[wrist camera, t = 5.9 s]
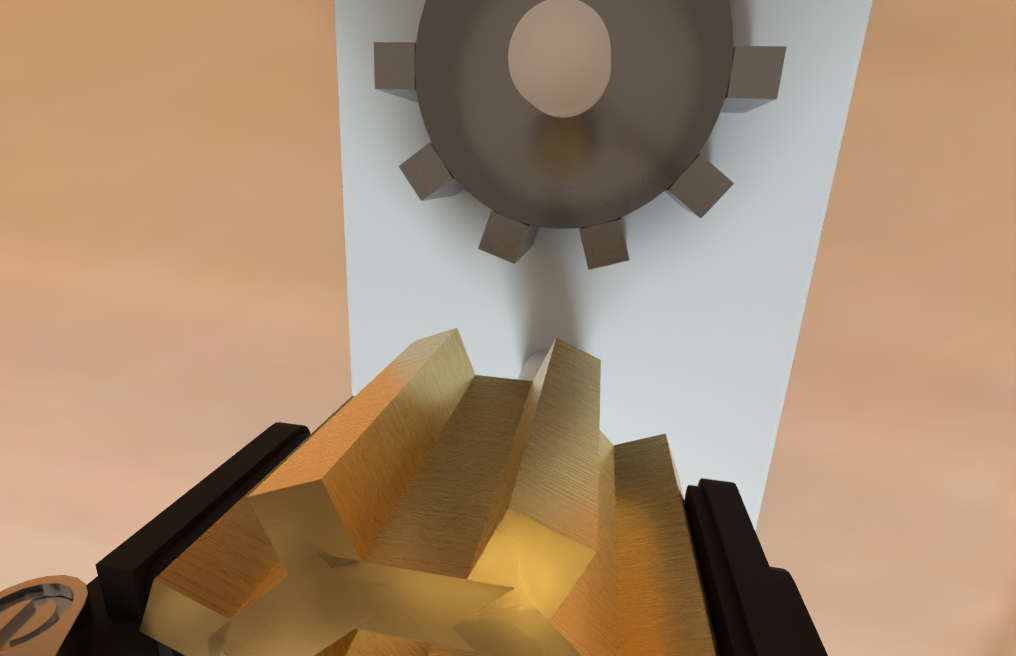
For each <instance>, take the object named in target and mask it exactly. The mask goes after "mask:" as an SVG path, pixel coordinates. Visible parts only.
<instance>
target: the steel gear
mask: <svg viewBox="0 0 1016 656" xmlns="http://www.w3.org/2000/svg"><path fill="white" fill-rule="evenodd" d="M543 1H546V0H426V1H425V5H424V8H423V12H422V15H421V19H420V22H419V28H418V34H417V40H416V43H415V42H374V76H375V89H377V90H380V91H383V92H386V93H389V94H392V95H395V96H398V97H401V98H404V99H407V100H410V101H413V102H416V103H419V108H420V111H421V115H422V118H423V121H424V125H425V128H426V130H427V133H428V135H429V137H430V140H431V142H432V143H431V142H430V143H428V144H427V145H426V146H424V147H423V148H422V149H420V150H419V151H418V152H416V153H415V154H414V155H413V156H411V157H410V158H409V159H407V160H406V161H405V162H403V163H402V164H401V165H399V168H400V169H401V171H402V172H403V174H404V175H405V177H406V179H407V180H408V182H409V183H410V185H411V186H412V188H413V189H414V191H415V192H416V194H417V195H418V197H419V199H420V200H421V201H426V200H431V199H437V198H443V197H448V196H454V195H456V194H458V193H459V192H461V191H462V190H463V189H466V190H467V191H468V192H469V193H470V194H471V195H472V196H474V197H475V198H476V199H477V200H479V201H480V202H481V203H483V204H484V205H486V206H487V207H489V208H491V209H492V211H491V213H490V216H489V218H488V221H487V224H486V227H485V230H484V233H483V235H482V238H481V241H480V244H479V247H478V249H480V250H482V251H484V252H487V253H489V254H492V255H494V256H496V257H499V258H501V259H504V260H506V261H508V262H511V263H513V264H515V263H516V262H517V261H518V260H519V259H520V258H521V257H522V256H523V255H524V254H525V253H526V252H527V251H528V250H529V249H530V248H531V247H532V246H533V243H534V240H535V238H536V235H537V233H538V230H539V228H540V227H545V228H552V229H574V228H580V229H579V232H580V236H581V241H582V245H583V249H584V253H585V258H586V262H587V266H588V270H590V269H595V268H599V267H603V266H608V265H612V264H616V263H621V262H625V261H629V254H628V248H627V243H626V238H625V233H624V229H623V224H622V219H621V217H623V216H625V215H627V214H630V213H632V212H633V211H635V210H637V209H639V208H641V207H642V206H644V205H646V204H648V203H649V202H650V201H652V200H653V199H655V198H656V197H657V196H659V195H660V194H661V193H663V192H665V193H667V194H668V195H669V196H670V197H671V198H672V199H673V200H675V201H676V202H677V203H678V204H679V205H680V206H682V207H683V208H684V209H685V210H687V211H689V212H690V213H692V214H694V215H696V216H697V217H699V218H702V217H703V216H704V215H705V214H706V213H707V212H708V211H709V210H710V209H711V208H712V207H713V206H714V205H715V203H716V202H717V201H718V200H719V199H720V198H721V197H722V196H723V195H724V194H725V193H726V192H727V191H728V190H729V189H730V188H731V187H732V185H733V184H734V183H733V182H732V181H731V180H730V179H729V178H728V177H726V176H725V175H724V174H723V173H722V172H721V171H719V170H718V169H717V168H716V167H715V166H714V165H713V164H711V163H710V162H709V161H708V160H707V159H706V158H705V157H703V156H702V155H701V154H699V152H700V150H701V149H702V147H703V146H704V144H705V143H706V141H707V140H708V138H709V136H710V134H711V132H712V130H713V128H714V126H715V124H716V121H717V119H718V117H719V114H720V112H726V113H745V112H748V111H750V110H753V109H755V108H757V107H760V106H762V105H764V104H767V103H769V102H772V101H774V100H776V99H777V97H778V91H779V86H780V80H781V75H782V69H783V64H784V58H785V53H786V48H787V46H735V47H734V48H733V23H732V17H731V11H730V5H729V2H730V1H731V0H579V1H582V2H584V3H585V4H587V5H589V6H590V7H591V8H592V9H594V10H595V11H596V13H597V14H598V15H599V16H600V17H601V19H602V20H603V22H604V24H605V26H606V29H607V31H608V34H609V39H610V47H611V72H610V78H609V81H608V84H607V87H606V89H605V91H604V93H603V94H602V96H601V97H600V99H599V100H598V101H597V102H596V103H595V104H594V105H593V106H592V107H591V108H590V109H588V110H586V111H585V112H583V113H581V114H579V115H576V116H572V117H564V118H561V117H554V116H550V115H548V114H545V113H544V112H542V111H540V110H539V109H538V108H536V107H535V106H534V105H532V104H531V103H530V102H529V101H527V100H526V99H525V98H524V97H523V96H522V95H521V94H520V92H519V91H518V90H517V88H516V86H515V85H514V83H513V80H512V78H511V75H510V71H509V65H508V51H509V45H510V40H511V37H512V34H513V32H514V30H515V28H516V26H517V24H518V23H519V21H520V20H521V19H522V17H523V16H524V15H525V14H526V13H527V12H528V11H529V10H530V9H531V8H533V7H534V6H536V5H537V4H539V3H541V2H543Z"/></svg>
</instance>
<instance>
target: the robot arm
mask: <svg viewBox="0 0 1016 656" xmlns="http://www.w3.org/2000/svg"><path fill="white" fill-rule="evenodd" d="M310 435H311V434H310V431H309V429H308V428H307V427H306V426H303V425H296V424H288V423H281V422H278V423H275V424H273V425H272V426H270V427H269V428H268V429H266V430H265V431H264V432H263V433H261V434H260V435H259V436H258V437H256V438H255V439H254V440H253V441H251V442H250V443H249V444H248V445H246V446H245V447H244V448H242V449H241V450H240V451H239V452H237V453H236V454H235V455H234V456H232V457H231V458H230V459H229V460H227V461H226V462H225V463H223V464H222V465H221V466H220V467H218V468H217V469H216V470H215V471H213V472H212V473H211V474H210V475H208V476H207V477H206V478H204V479H203V480H202V481H201V482H199V483H198V484H197V485H196V486H194V487H193V488H192V489H191V490H189V491H188V492H187V493H185V494H184V495H183V496H182V497H180V498H179V499H178V500H177V501H175V502H174V503H173V504H172V505H170V506H169V507H168V508H166V509H165V510H164V511H163V512H161V513H160V514H159V515H158V516H156V517H155V518H154V519H153V520H151V521H150V522H149V523H147V524H146V525H145V526H144V527H142V528H141V529H140V530H139V531H137V532H136V533H135V534H134V535H132V536H131V537H130V538H129V539H127V540H126V541H125V542H123V543H122V544H121V545H120V546H118V547H117V548H116V549H115V550H113V551H112V552H111V553H110V554H108V555H107V556H106V557H104V558H103V559H102V560H101V561H99V562H98V563H97V564H96V569H97V573H98V576H97V577H96V578H95V579H94V580H92V581H91V582H90V583H89V584H87V585H86V584H85V583H84V582H82V581H81V580H80V579H78V578H76V577H71V576H66V575H59V576H46V577H41V578H37V579H33V580H29V581H25V582H23V583H20V584H17V585H15V586H12V587H9V588H7V589H5V590H3V591H1V592H0V656H185V655H183V654H181V653H180V652H178V651H176V650H174V649H172V648H170V647H168V646H166V645H164V644H163V643H161V642H159V641H157V640H155V639H153V638H151V637H149V636H147V635H146V634H144V633H142V632H140V627H141V624H142V620H143V616H144V613H145V609H146V606H147V602H148V599H149V595H150V591H151V588H152V584H153V581H154V579H155V578H156V577H157V576H158V575H159V574H160V573H161V572H162V571H164V570H165V569H166V568H167V567H168V566H169V565H170V564H171V563H172V562H173V561H174V560H175V559H177V558H178V557H179V556H180V555H181V554H182V553H183V552H184V551H185V550H186V549H187V548H188V547H190V546H191V545H192V544H193V543H194V542H195V541H196V540H197V539H198V538H199V537H200V536H201V535H202V534H204V533H205V532H206V531H207V530H208V529H209V528H210V527H211V526H212V525H213V524H214V523H215V522H217V521H218V520H219V519H220V518H221V517H222V516H223V515H224V514H225V513H226V512H227V511H228V510H230V509H231V508H232V507H233V506H234V505H235V504H236V503H237V502H238V501H239V500H240V499H241V498H243V497H244V496H245V495H246V494H247V493H248V492H249V491H250V490H251V489H252V488H253V487H254V486H256V485H257V484H258V483H259V482H260V481H261V480H262V479H263V478H264V477H265V476H266V475H267V474H268V473H270V472H271V471H272V470H273V469H274V468H275V467H276V466H277V465H278V464H279V463H280V462H281V461H283V460H284V459H285V458H286V457H287V456H288V455H289V454H290V453H291V452H292V451H293V450H294V449H296V448H297V447H298V446H299V445H300V444H301V443H302V442H303V441H304V440H305V439H306V438H307V437H309V436H310ZM684 502H685V506H686V510H687V515H688V519H689V523H690V527H691V532H692V536H693V540H694V545H695V549H696V553H697V557H698V562H699V566H700V570H701V575H702V579H703V583H704V587H705V592H706V596H707V600H708V604H709V609H710V613H711V617H712V622H713V626H714V630H715V634H716V639H717V643H718V647H719V652H720V656H828V655H827V653H826V650H825V648H824V646H823V644H822V642H821V639H820V637H819V635H818V633H817V630H816V628H815V626H814V624H813V622H812V619H811V617H810V615H809V613H808V611H807V608H806V606H805V604H804V602H803V599H802V597H801V595H800V593H799V591H798V588H797V586H796V584H795V582H794V580H793V578H792V576H791V575H790V573H789V572H788V571H787V570H785V569H781V568H775V567H769V564H768V562H767V559H766V557H765V554H764V552H763V549H762V547H761V544H760V542H759V540H758V537H757V535H756V532H755V530H754V527H753V525H752V522H751V520H750V517H749V515H748V512H747V510H746V508H745V505H744V503H743V500H742V498H741V495H740V493H739V490H738V488H737V486H736V484H735V483H733V482H727V481H719V480H712V479H704V478H701V479H700V480H699V483H698V486H694V485H688V486H687V489H686V493H685V499H684Z"/></svg>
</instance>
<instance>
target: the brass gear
mask: <svg viewBox="0 0 1016 656" xmlns="http://www.w3.org/2000/svg"><path fill="white" fill-rule="evenodd" d="M600 380H601V360H600V359H598V358H596V357H594V356H592V355H590V354H588V353H586V352H584V351H582V350H580V349H578V348H577V347H575V346H573V345H571V344H569V343H567V342H565V341H563V340H561V339H559V338H557V337H556V339H555V341H554V342H553V344H552V346H551V348H550V350H549V352H548V354H547V355H546V357H545V359H544V361H543V363H542V365H541V367H540V368H539V370H538V372H537V374H536V376H535V378H534V380H533V381H527V380H518V379H509V378H499V377H490V376H481V375H475V372H474V370H473V367H472V365H471V362H470V360H469V357H468V354H467V352H466V349H465V347H464V344H463V342H462V339H461V336H460V334H459V331H458V329H457V328H454V329H451V330H447V331H444V332H441V333H438V334H434V335H431V336H428V337H425V338H421V339H418V340H415V341H413V342H412V343H411V344H410V345H409V346H408V347H407V348H406V349H405V350H404V351H403V352H402V353H401V354H400V355H398V356H397V357H396V358H395V359H394V360H393V361H392V362H391V363H390V364H389V365H388V366H387V367H386V368H385V369H384V370H382V371H381V372H380V373H379V374H378V375H377V376H376V377H375V378H374V379H373V380H372V381H371V382H370V383H369V384H367V385H366V386H365V387H364V388H363V389H362V390H361V391H360V392H359V393H358V394H357V395H356V396H352V397H351V398H350V399H349V400H347V401H346V402H345V403H344V404H343V405H342V406H341V407H340V408H339V409H338V410H337V411H336V412H334V413H333V414H332V415H331V416H330V417H329V418H328V419H327V420H326V421H325V422H324V423H323V424H321V425H320V426H319V427H318V428H317V429H316V430H315V431H314V432H313V433H312V434H311V435H310V436H309V437H307V438H306V439H305V440H304V441H303V442H302V443H301V444H300V445H299V446H298V447H297V448H296V449H294V450H293V451H292V452H291V453H290V454H289V455H288V456H287V457H286V458H285V459H284V460H283V461H281V462H280V463H279V464H278V465H277V466H276V467H275V468H274V469H273V470H272V471H271V472H270V473H268V474H267V475H266V476H265V477H264V478H263V479H262V480H261V481H260V482H259V483H258V484H257V485H256V486H254V487H253V488H252V489H251V490H250V491H249V492H248V493H247V494H246V495H245V496H244V497H243V498H241V499H240V500H239V501H238V502H237V503H236V504H235V505H234V506H233V507H232V508H231V509H230V510H228V511H227V512H226V513H225V514H224V515H223V516H222V517H221V518H220V519H219V520H218V521H217V522H215V523H214V524H213V525H212V526H211V527H210V528H209V529H208V530H207V531H206V532H205V533H204V534H202V535H201V536H200V537H199V538H198V539H197V540H196V541H195V542H194V543H193V544H192V545H191V546H190V547H188V548H187V549H186V550H185V551H184V552H183V553H182V554H181V555H180V556H179V557H178V558H177V559H175V560H174V561H173V562H172V563H171V564H170V565H169V566H168V567H167V568H166V569H165V570H164V571H162V572H161V573H160V574H159V575H158V576H157V577H156V578H155V579H154V581H153V584H152V588H151V591H150V595H149V599H148V602H147V606H146V609H145V613H144V616H143V620H142V624H141V627H140V632H142V633H144V634H146V635H147V636H149V637H151V638H153V639H155V640H157V641H159V642H161V643H163V644H164V645H166V646H168V647H170V648H172V649H174V650H176V651H178V652H180V653H181V654H183V655H185V656H720V652H719V647H718V643H717V639H716V634H715V630H714V626H713V622H712V617H711V613H710V609H709V604H708V600H707V596H706V592H705V587H704V583H703V579H702V575H701V570H700V566H699V562H698V557H697V553H696V549H695V545H694V540H693V536H692V532H691V527H690V523H689V519H688V515H687V510H686V506H685V502H684V496H683V492H682V488H681V483H680V479H679V475H678V472H677V468H676V465H675V462H674V459H673V455H672V452H671V449H670V446H669V442H668V439H667V436H666V434H661V435H657V436H652V437H648V438H643V439H639V440H634V441H630V442H626V443H621V444H617V445H613V444H612V443H611V442H610V441H609V439H608V438H607V437H606V436H605V435H604V434H603V433H602V432H601V431H600V429H599V427H600Z"/></svg>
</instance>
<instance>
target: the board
mask: <svg viewBox="0 0 1016 656" xmlns="http://www.w3.org/2000/svg"><path fill="white" fill-rule="evenodd" d="M425 1H426V0H334V4H335V26H336V48H337V70H338V92H339V114H340V136H341V158H342V180H343V202H344V224H345V246H346V268H347V290H348V312H349V334H350V356H351V378H352V396H356V395H357V394H358V393H359V392H360V391H361V390H362V389H363V388H364V387H365V386H366V385H367V384H369V383H370V382H371V381H372V380H373V379H374V378H375V377H376V376H377V375H378V374H379V373H380V372H381V371H382V370H384V369H385V368H386V367H387V366H388V365H389V364H390V363H391V362H392V361H393V360H394V359H395V358H396V357H397V356H398V355H400V354H401V353H402V352H403V351H404V350H405V349H406V348H407V347H408V346H409V345H410V344H411V343H412V342H413V341H415V340H418V339H421V338H425V337H428V336H431V335H434V334H438V333H441V332H444V331H447V330H451V329H454V328H457V329H458V331H459V334H460V336H461V339H462V342H463V344H464V347H465V349H466V352H467V354H468V357H469V360H470V362H471V365H472V367H473V370H474V372H475V375H481V376H490V377H499V378H509V379H518V380H527V381H533V380H534V378H535V376H536V374H537V372H538V370H539V368H540V367H541V365H542V363H543V361H544V359H545V357H546V355H547V354H548V352H549V350H550V348H551V346H552V344H553V342H554V341H555V339H556V337H557V338H559V339H561V340H563V341H565V342H567V343H569V344H571V345H573V346H575V347H577V348H578V349H580V350H582V351H584V352H586V353H588V354H590V355H592V356H594V357H596V358H598V359H600V360H601V380H600V427H599V429H600V431H601V432H602V433H603V434H604V435H605V436H606V437H607V438H608V439H609V441H610V442H611V443H612V444H613V445H617V444H621V443H626V442H630V441H634V440H639V439H643V438H648V437H652V436H657V435H661V434H666V436H667V439H668V442H669V446H670V449H671V452H672V455H673V459H674V462H675V465H676V468H677V472H678V475H679V479H680V483H681V488H682V492H683V496H684V499H685V493H686V489H687V486H688V485H694V486H698V483H699V480H700V479H701V478H704V479H712V480H719V481H727V482H733V483H735V484H736V486H737V488H738V490H739V493H740V495H741V498H742V500H743V503H744V505H745V508H746V510H747V512H748V515H749V517H750V520H751V522H752V525H753V527H754V530H756V526H757V521H758V517H759V512H760V508H761V503H762V499H763V494H764V490H765V485H766V481H767V476H768V472H769V467H770V463H771V458H772V454H773V449H774V445H775V440H776V436H777V431H778V426H779V422H780V417H781V413H782V408H783V404H784V399H785V395H786V390H787V386H788V381H789V377H790V372H791V368H792V363H793V359H794V354H795V350H796V345H797V341H798V336H799V332H800V327H801V322H802V318H803V313H804V309H805V304H806V300H807V295H808V291H809V286H810V282H811V277H812V273H813V268H814V264H815V259H816V255H817V250H818V246H819V241H820V237H821V232H822V228H823V223H824V219H825V214H826V209H827V205H828V200H829V196H830V191H831V187H832V182H833V178H834V173H835V169H836V164H837V160H838V155H839V151H840V146H841V142H842V137H843V133H844V128H845V124H846V119H847V115H848V110H849V106H850V101H851V96H852V92H853V87H854V83H855V78H856V74H857V69H858V65H859V60H860V56H861V51H862V47H863V42H864V38H865V33H866V29H867V24H868V20H869V15H870V11H871V6H872V2H873V0H731V1H730V2H729V5H730V11H731V17H732V23H733V48H734V47H735V46H787V48H786V53H785V58H784V64H783V69H782V75H781V80H780V86H779V91H778V97H777V99H776V100H774V101H772V102H769V103H767V104H764V105H762V106H760V107H757V108H755V109H753V110H750V111H748V112H745V113H726V112H720V114H719V117H718V119H717V121H716V124H715V126H714V128H713V130H712V132H711V134H710V136H709V138H708V140H707V141H706V143H705V144H704V146H703V147H702V149H701V150H700V152H699V154H701V155H702V156H703V157H705V158H706V159H707V160H708V161H709V162H710V163H711V164H713V165H714V166H715V167H716V168H717V169H718V170H719V171H721V172H722V173H723V174H724V175H725V176H726V177H728V178H729V179H730V180H731V181H732V182H733V183H734V184H733V185H732V187H731V188H730V189H729V190H728V191H727V192H726V193H725V194H724V195H723V196H722V197H721V198H720V199H719V200H718V201H717V202H716V203H715V205H714V206H713V207H712V208H711V209H710V210H709V211H708V212H707V213H706V214H705V215H704V216H703V217H702V218H699V217H697V216H696V215H694V214H692V213H690V212H689V211H687V210H685V209H684V208H683V207H682V206H680V205H679V204H678V203H677V202H676V201H675V200H673V199H672V198H671V197H670V196H669V195H668V194H667V193H665V192H663V193H661V194H660V195H659V196H657V197H656V198H655V199H653V200H652V201H650V202H649V203H648V204H646V205H644V206H642V207H641V208H639V209H637V210H635V211H633V212H632V213H630V214H627V215H625V216H623V217H621V219H622V224H623V229H624V233H625V238H626V243H627V248H628V254H629V261H625V262H621V263H616V264H612V265H608V266H603V267H599V268H595V269H590V270H588V266H587V262H586V258H585V253H584V249H583V245H582V241H581V236H580V232H579V229H580V228H574V229H552V228H545V227H540V228H539V230H538V233H537V235H536V238H535V240H534V243H533V246H532V247H531V248H530V249H529V250H528V251H527V252H526V253H525V254H524V255H523V256H522V257H521V258H520V259H519V260H518V261H517V262H516V263H515V264H513V263H511V262H508V261H506V260H504V259H501V258H499V257H496V256H494V255H492V254H489V253H487V252H484V251H482V250H480V249H478V247H479V244H480V241H481V238H482V235H483V233H484V230H485V227H486V224H487V221H488V218H489V216H490V213H491V211H492V209H491V208H489V207H487V206H486V205H484V204H483V203H481V202H480V201H479V200H477V199H476V198H475V197H474V196H472V195H471V194H470V193H469V192H468V191H467V190H466V189H463V190H462V191H461V192H459V193H458V194H456V195H454V196H448V197H443V198H437V199H431V200H426V201H421V200H420V199H419V197H418V195H417V194H416V192H415V191H414V189H413V188H412V186H411V185H410V183H409V182H408V180H407V179H406V177H405V175H404V174H403V172H402V171H401V169H400V168H399V165H401V164H402V163H403V162H405V161H406V160H407V159H409V158H410V157H411V156H413V155H414V154H415V153H416V152H418V151H419V150H420V149H422V148H423V147H424V146H426V145H427V144H428V143H430V142H431V140H430V137H429V135H428V133H427V130H426V128H425V125H424V121H423V118H422V115H421V111H420V108H419V103H416V102H413V101H410V100H407V99H404V98H401V97H398V96H395V95H392V94H389V93H386V92H383V91H380V90H377V89H375V76H374V42H415V43H416V40H417V34H418V28H419V22H420V19H421V15H422V12H423V8H424V5H425ZM508 65H509V71H510V75H511V78H512V80H513V83H514V85H515V86H516V88H517V90H518V91H519V92H520V94H521V95H522V96H523V97H524V98H525V99H526V100H527V101H529V102H530V103H531V104H532V105H534V106H535V107H536V108H538V109H539V110H540V111H542V112H544V113H545V114H548V115H550V116H554V117H561V118H564V117H572V116H576V115H579V114H581V113H583V112H585V111H586V110H588V109H590V108H591V107H592V106H593V105H594V104H595V103H596V102H597V101H598V100H599V99H600V97H601V96H602V94H603V93H604V91H605V89H606V87H607V84H608V81H609V78H610V72H611V47H610V39H609V34H608V31H607V29H606V26H605V24H604V22H603V20H602V19H601V17H600V16H599V15H598V14H597V13H596V11H595V10H594V9H592V8H591V7H590V6H589V5H587V4H585V3H584V2H582V1H579V0H546V1H543V2H541V3H539V4H537V5H536V6H534V7H533V8H531V9H530V10H529V11H528V12H527V13H526V14H525V15H524V16H523V17H522V19H521V20H520V21H519V23H518V24H517V26H516V28H515V30H514V32H513V34H512V37H511V40H510V45H509V51H508ZM431 143H432V142H431Z"/></svg>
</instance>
